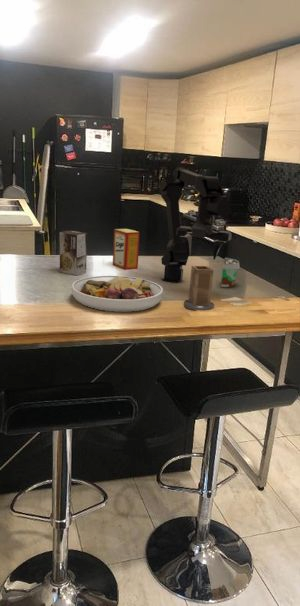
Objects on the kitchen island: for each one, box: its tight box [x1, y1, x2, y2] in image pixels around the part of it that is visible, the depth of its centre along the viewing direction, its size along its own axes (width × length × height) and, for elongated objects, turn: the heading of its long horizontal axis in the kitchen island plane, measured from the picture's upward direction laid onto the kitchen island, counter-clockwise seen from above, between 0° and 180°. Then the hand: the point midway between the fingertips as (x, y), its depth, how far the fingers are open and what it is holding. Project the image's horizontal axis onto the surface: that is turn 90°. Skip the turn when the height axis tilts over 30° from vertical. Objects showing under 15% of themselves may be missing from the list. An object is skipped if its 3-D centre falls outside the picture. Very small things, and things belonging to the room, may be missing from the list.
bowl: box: [71, 275, 164, 313], centre depth 163 cm, size 30×30×8 cm
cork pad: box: [220, 296, 253, 307], centre depth 170 cm, size 8×8×1 cm
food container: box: [220, 257, 240, 289], centre depth 190 cm, size 12×6×10 cm, turn 168°
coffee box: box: [59, 230, 88, 276], centre depth 195 cm, size 9×6×16 cm
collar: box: [188, 265, 214, 306], centre depth 161 cm, size 6×6×12 cm
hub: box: [183, 299, 215, 312], centre depth 162 cm, size 10×10×5 cm
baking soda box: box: [112, 228, 141, 271], centre depth 210 cm, size 10×6×16 cm
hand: (201, 257), depth 176 cm, fingers open, 9 cm apart
